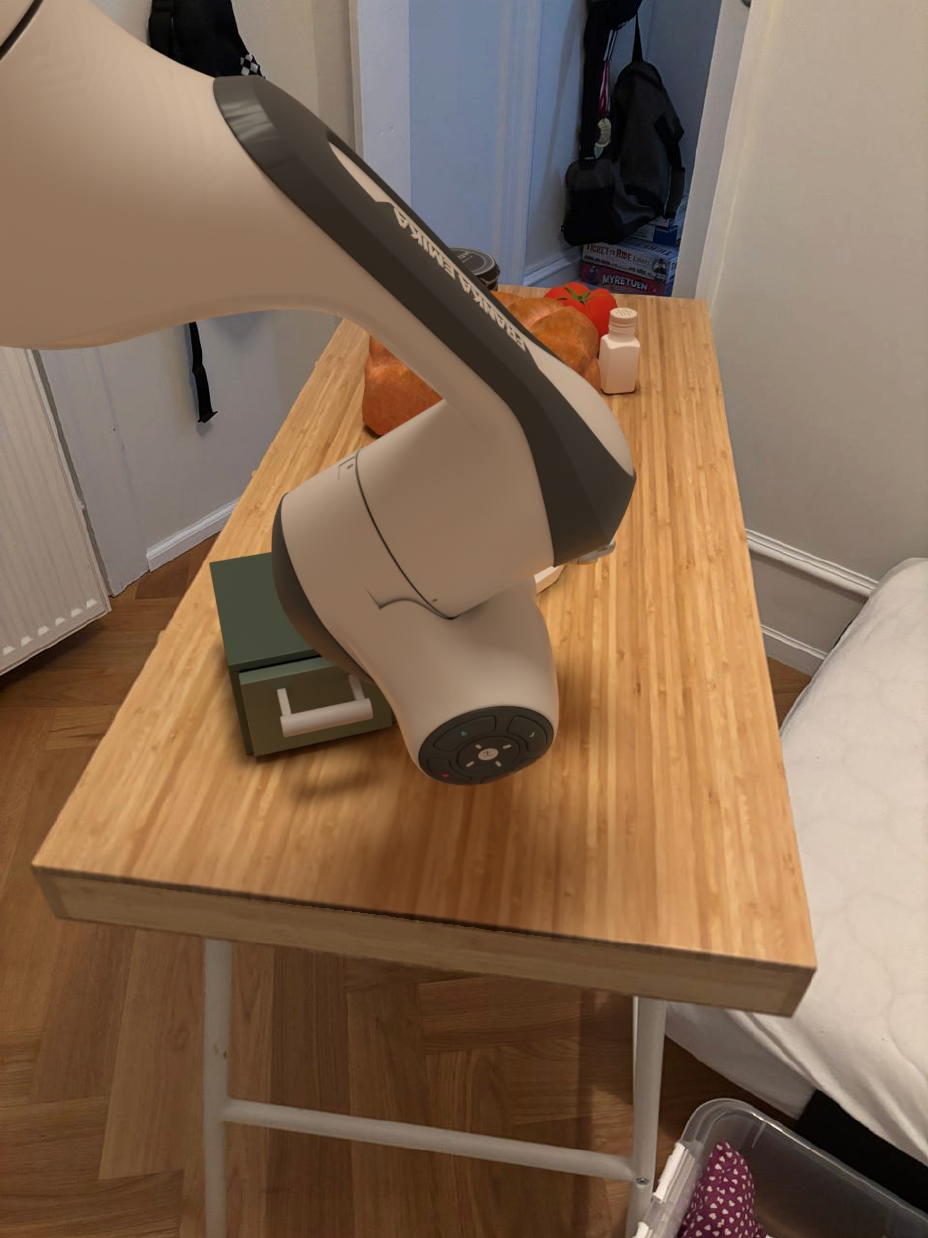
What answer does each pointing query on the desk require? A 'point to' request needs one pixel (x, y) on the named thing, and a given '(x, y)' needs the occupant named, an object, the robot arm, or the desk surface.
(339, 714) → the drawer
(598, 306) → the tomato
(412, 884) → the desk surface
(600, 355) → the pepper shaker
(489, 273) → the container
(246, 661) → the cabinet
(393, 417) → the bread
